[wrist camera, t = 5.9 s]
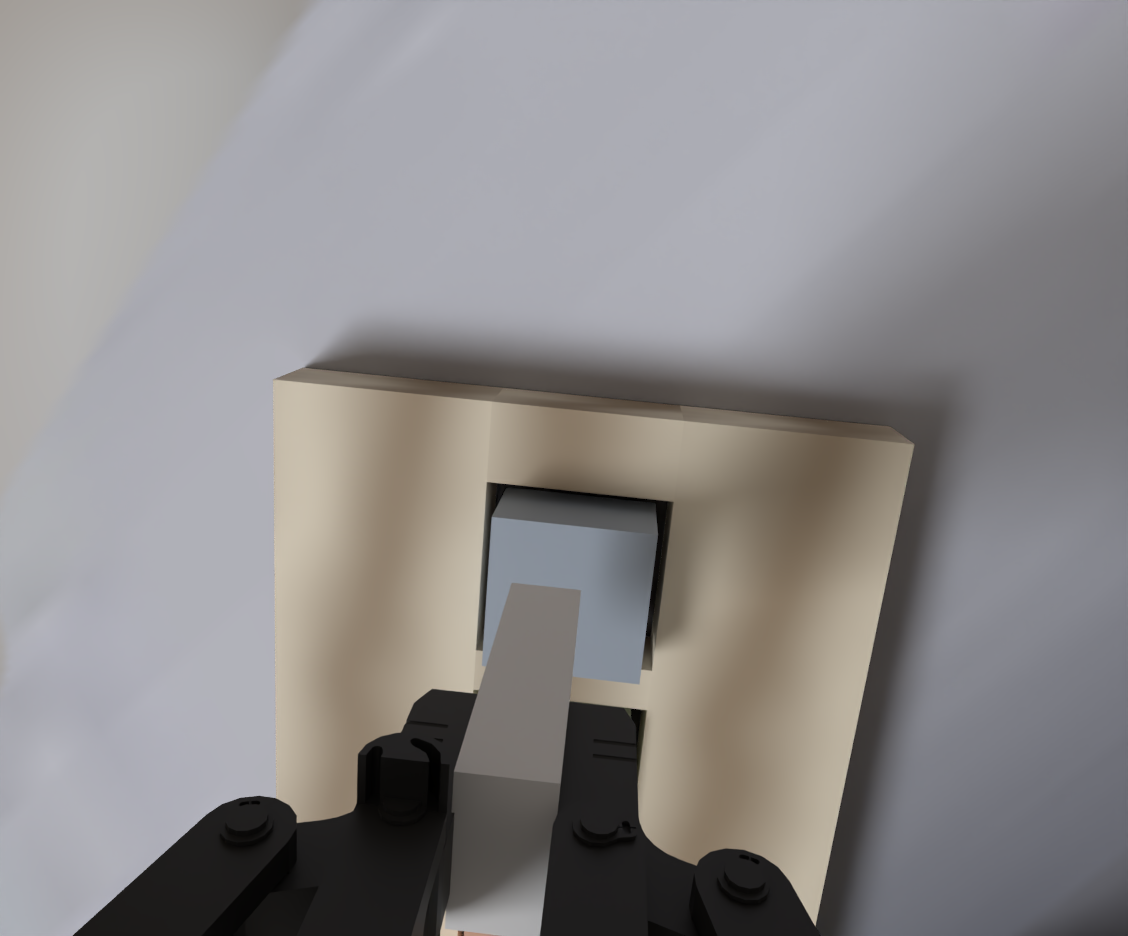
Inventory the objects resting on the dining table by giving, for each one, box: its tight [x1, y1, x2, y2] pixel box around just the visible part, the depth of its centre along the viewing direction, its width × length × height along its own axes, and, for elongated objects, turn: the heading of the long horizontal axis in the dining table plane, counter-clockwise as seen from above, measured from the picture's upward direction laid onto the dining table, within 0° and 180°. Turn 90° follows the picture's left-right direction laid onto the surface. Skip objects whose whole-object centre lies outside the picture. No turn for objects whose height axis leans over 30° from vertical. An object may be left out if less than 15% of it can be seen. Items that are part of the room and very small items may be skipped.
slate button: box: [482, 487, 658, 684], centre depth 22 cm, size 4×4×2 cm
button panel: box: [273, 368, 914, 936], centre depth 25 cm, size 16×21×2 cm
